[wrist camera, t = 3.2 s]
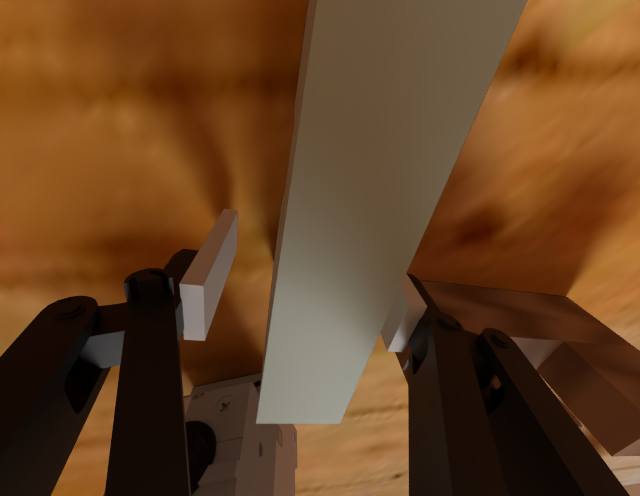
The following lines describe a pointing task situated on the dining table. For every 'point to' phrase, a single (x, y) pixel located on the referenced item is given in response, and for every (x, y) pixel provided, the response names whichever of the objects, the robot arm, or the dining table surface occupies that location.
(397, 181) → the grey panel
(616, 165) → the dining table surface
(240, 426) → the circuit breaker
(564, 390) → the brown notched flat block
